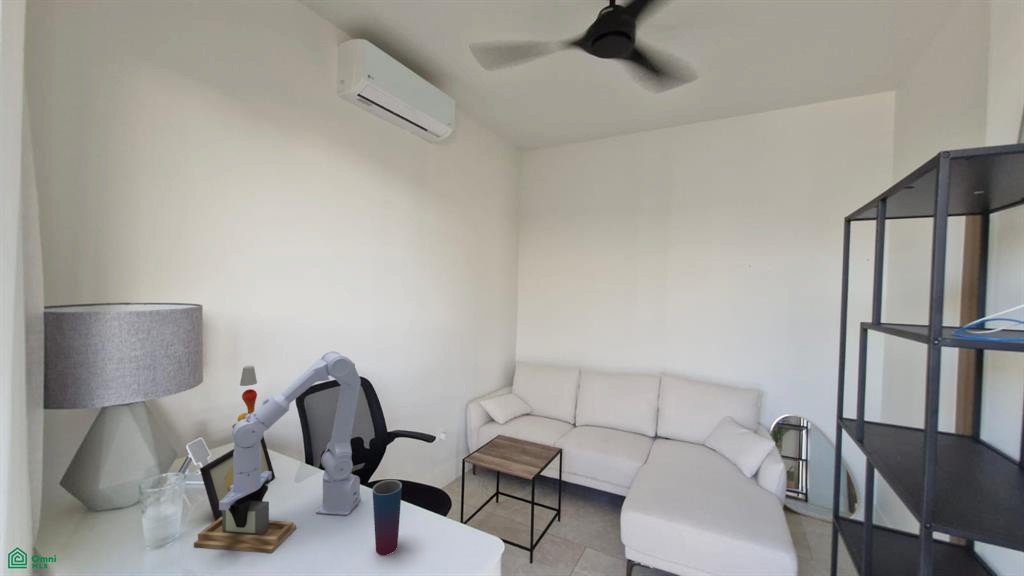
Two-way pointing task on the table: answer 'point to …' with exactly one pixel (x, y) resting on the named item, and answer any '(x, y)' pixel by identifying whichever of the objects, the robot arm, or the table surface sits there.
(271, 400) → the robot arm
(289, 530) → the wooden tray
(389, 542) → the cup
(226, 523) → the grey rectangular prism
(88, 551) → the table surface
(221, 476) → the picture frame
